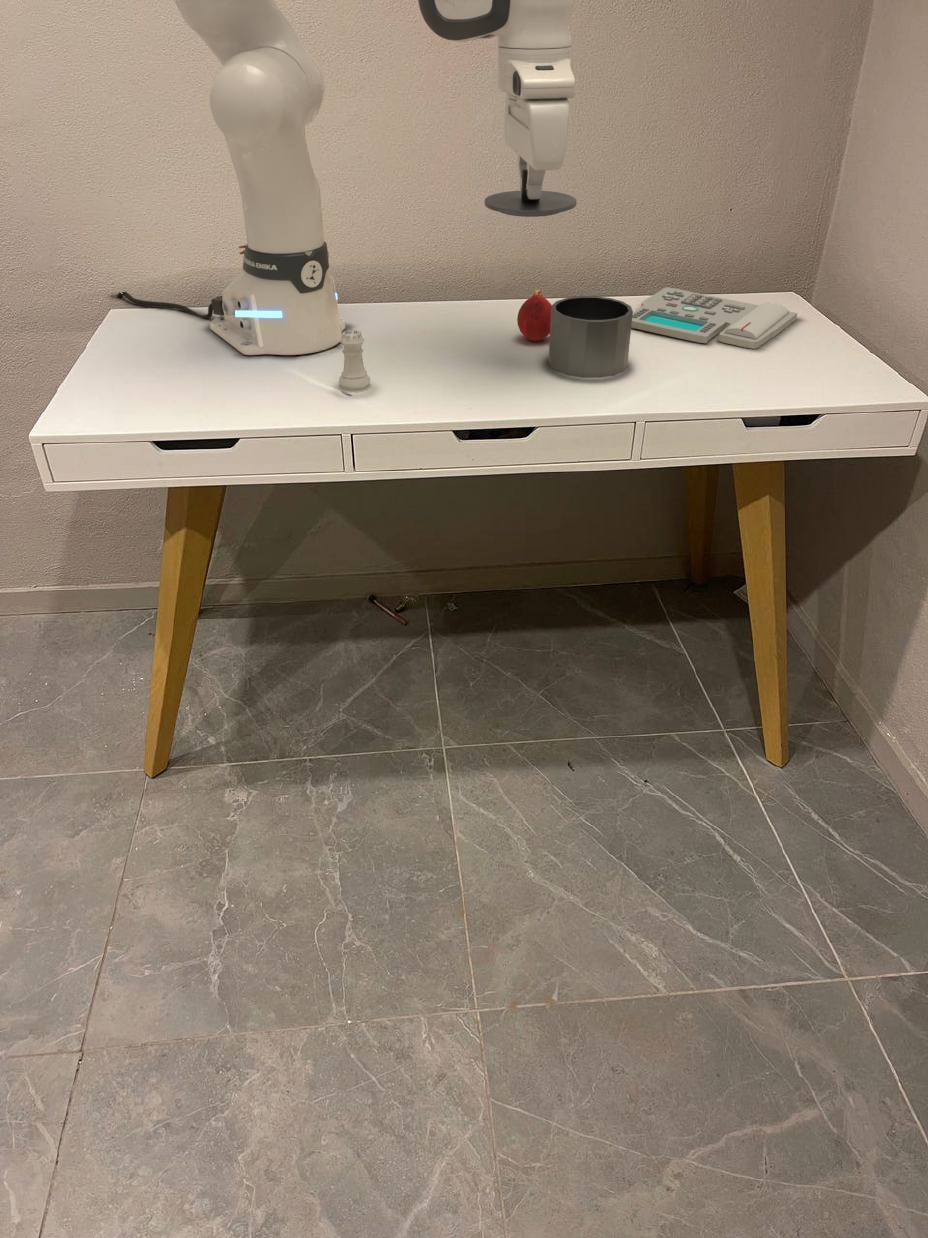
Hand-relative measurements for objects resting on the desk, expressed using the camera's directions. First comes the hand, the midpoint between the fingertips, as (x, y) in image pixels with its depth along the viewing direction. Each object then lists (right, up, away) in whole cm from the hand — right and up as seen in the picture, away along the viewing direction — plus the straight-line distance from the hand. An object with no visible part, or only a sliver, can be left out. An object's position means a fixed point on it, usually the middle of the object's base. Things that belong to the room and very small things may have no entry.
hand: (530, 194), depth 126 cm
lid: (0, -1, +1) cm, 1 cm away
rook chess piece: (-24, -24, +7) cm, 34 cm away
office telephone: (+31, -7, +31) cm, 44 cm away
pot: (+9, -19, +14) cm, 25 cm away
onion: (+2, -13, +22) cm, 26 cm away
